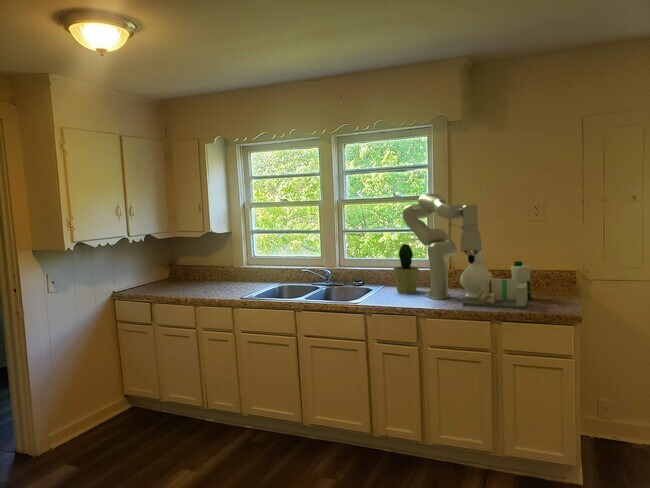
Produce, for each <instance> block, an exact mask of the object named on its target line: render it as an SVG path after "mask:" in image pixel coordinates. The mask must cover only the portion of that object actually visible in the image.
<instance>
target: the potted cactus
mask: <svg viewBox="0 0 650 488" xmlns="http://www.w3.org/2000/svg"><path fill="white" fill-rule="evenodd" d="M397 253H398V258H399V260H398V261H399V264H400V266H397V267H396V266H395V267H393V268H392V269H393V274H394V280H395V285H396V286H395V287H396V291H397V293H398V292H399V293H398V294H402V293H406V294H407V293H410V294H415V293H416V292H417V285H418V277H419V267H418V266H415V265H412V264H413V258H414V254H413V250H412V247H411V245H409V244H408V243H404V244H403V243H402V244H401V246H400V247H399V250H398V252H397ZM406 294H405V295H406Z"/></svg>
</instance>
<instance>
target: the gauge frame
mask: <svg viewBox="0 0 650 488" xmlns="http://www.w3.org/2000/svg"><path fill="white" fill-rule="evenodd" d="M490 282H491V293H496V301H495V302H494V303H479V298H470V297H467V298H466V299H465V300H464V301H463V303H462V304H463V305H462V306H465V307H466V306H467V307H481V308H482V307H483V308H497V309H498V308H501V309H515V308H518V309H519V310H526V308H527V306H526V305H528V300H527V283H519V284H518V285H517V279H512V278H493V279H488V278H481V291H484V293H489V292H490Z"/></svg>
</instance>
